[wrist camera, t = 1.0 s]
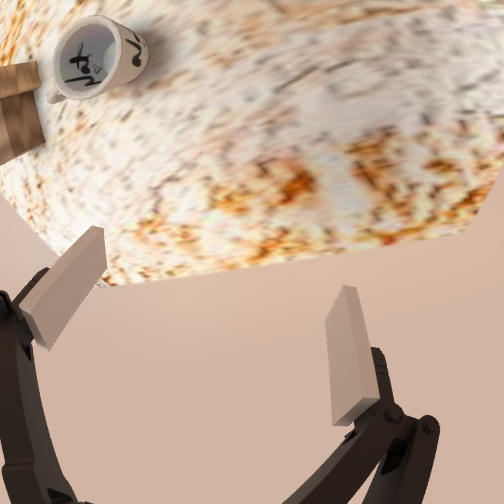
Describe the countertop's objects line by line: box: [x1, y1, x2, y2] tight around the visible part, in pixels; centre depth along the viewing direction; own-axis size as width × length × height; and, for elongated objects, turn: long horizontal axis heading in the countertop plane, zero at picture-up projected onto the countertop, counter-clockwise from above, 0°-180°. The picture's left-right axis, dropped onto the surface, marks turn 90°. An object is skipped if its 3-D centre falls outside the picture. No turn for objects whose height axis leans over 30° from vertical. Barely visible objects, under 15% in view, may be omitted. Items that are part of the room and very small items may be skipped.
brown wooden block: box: [0, 90, 45, 166], centre depth 30 cm, size 16×5×8 cm, turn 10°
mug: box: [47, 15, 149, 104], centre depth 26 cm, size 10×15×10 cm
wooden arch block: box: [0, 62, 40, 99], centre depth 26 cm, size 5×10×11 cm, turn 100°
